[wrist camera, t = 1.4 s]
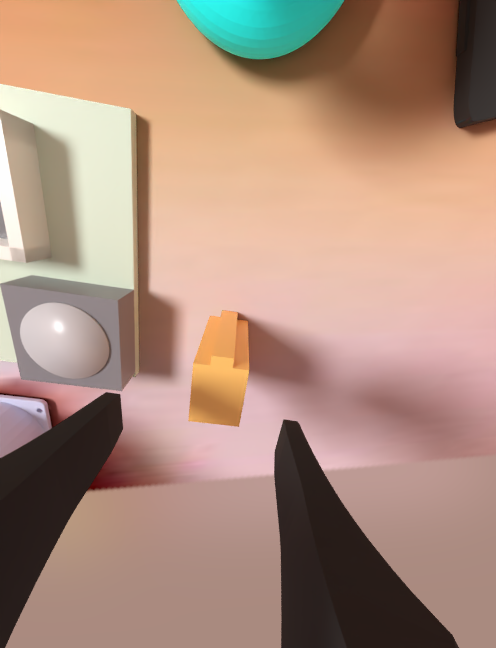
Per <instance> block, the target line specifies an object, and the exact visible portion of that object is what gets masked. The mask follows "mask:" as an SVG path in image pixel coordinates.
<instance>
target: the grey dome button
mask: <svg viewBox="0 0 496 648" xmlns="http://www.w3.org/2000/svg"><path fill="white" fill-rule="evenodd" d="M0 287H1V291H2V296H3V300H4V305H5V309H6V314H7V318H8V323H9V327H10V331H11V336H12V340H13V345H14V349H15V354H16V358H17V363H18V367H19V372H20V376H21V379H23V380H31V381H40V382H48V383H57V384H66V385H74V386H83V387H91V388H100V389H109V390H117V391H122V390H123V389H124V387H125V386H126V384H127V383H128V382H129V380H130V379H131V377H132V376H133V375H134V373H135V323H134V290H132V289H125V288H118V287H111V286H104V285H97V284H90V283H84V282H77V281H70V280H63V279H56V278H49V277H42V276H35V275H30V276H26V277H23V278H19V279H15V280H12V281H8V282H4V283H1V284H0Z"/></svg>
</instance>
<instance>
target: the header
mask: <svg viewBox="0 0 496 648" xmlns="http://www.w3.org/2000/svg"><path fill="white" fill-rule="evenodd" d="M47 258H52V255H51V248H50V241H49V234H48V227H47V219H46V212H45V205H44V198H43V191H42V183H41V176H40V169H39V162H38V155H37V147H36V140H35V133H34V126H33V123H30V122H28V121H26V120H23V119H21V118H19V117H17V116H14V115H12V114H10V113H7V112H5V111H3V110H1V109H0V259H3V260H10V261H17V262H24V263H28V262H33V261H37V260H42V259H47Z"/></svg>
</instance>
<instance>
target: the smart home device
mask: <svg viewBox="0 0 496 648" xmlns="http://www.w3.org/2000/svg"><path fill="white" fill-rule="evenodd" d="M456 56H457V65H456V80H455V94H454V119H455V123H456V125H457V127H459V128H462V127H466V126H470V125H474V124H477V123H481V122H485V121H489V120H493V119H496V0H460V4H459V20H458V35H457V50H456Z"/></svg>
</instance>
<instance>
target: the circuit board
mask: <svg viewBox="0 0 496 648" xmlns="http://www.w3.org/2000/svg"><path fill="white" fill-rule="evenodd" d="M0 109H1V110H3V111H5V112H7V113H10V114H12V115H14V116H17V117H19V118H21V119H23V120H26V121H28V122H30V123H33V126H34V133H35V140H36V147H37V155H38V162H39V169H40V176H41V183H42V191H43V198H44V205H45V212H46V219H47V227H48V234H49V241H50V248H51V255H52V258H47V259H42V260H37V261H33V262H28V263H24V262H17V261H10V260H3V259H0V284H1V283H4V282H8V281H12V280H15V279H19V278H23V277H26V276H30V275H35V276H42V277H49V278H56V279H63V280H70V281H77V282H84V283H90V284H97V285H104V286H111V287H118V288H125V289H132V290H134V323H135V373H134V375H133V376H132V377H136V375H137V374H138V372H139V313H138V225H137V137H136V113H134V112H133V111H132V110H131V109H129V108H124V107H118V106H113V105H108V104H103V103H97V102H92V101H87V100H82V99H77V98H71V97H66V96H61V95H56V94H51V93H45V92H40V91H35V90H30V89H24V88H19V87H14V86H9V85H4V84H0ZM0 361H8V362H16V363H17V358H16V354H15V349H14V345H13V340H12V336H11V331H10V327H9V323H8V318H7V314H6V309H5V305H4V300H3V296H2V291H1V287H0Z"/></svg>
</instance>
